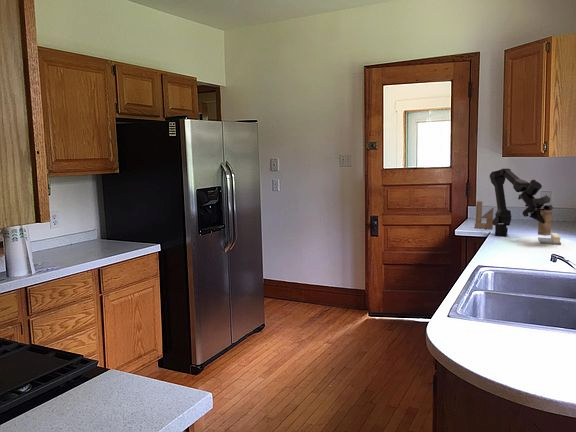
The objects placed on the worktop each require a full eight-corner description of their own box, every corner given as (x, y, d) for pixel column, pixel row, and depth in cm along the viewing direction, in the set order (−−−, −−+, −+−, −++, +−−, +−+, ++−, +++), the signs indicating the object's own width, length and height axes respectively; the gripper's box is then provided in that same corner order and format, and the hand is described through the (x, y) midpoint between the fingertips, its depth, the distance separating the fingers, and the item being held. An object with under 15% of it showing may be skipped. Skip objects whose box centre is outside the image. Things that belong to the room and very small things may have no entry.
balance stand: (540, 243, 274) (540, 236, 274) (538, 239, 289) (538, 232, 289) (561, 244, 271) (561, 237, 270) (557, 240, 285) (557, 233, 285)
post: (537, 234, 270) (539, 210, 268) (543, 233, 272) (544, 210, 270) (545, 235, 266) (546, 211, 264) (550, 234, 268) (552, 210, 266)
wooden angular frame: (491, 229, 324) (492, 202, 322) (474, 228, 330) (475, 201, 328) (492, 229, 327) (494, 201, 325) (475, 227, 333) (476, 200, 331)
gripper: (528, 191, 265) (546, 214, 257) (551, 190, 273) (569, 212, 265) (515, 204, 273) (531, 227, 264) (537, 203, 281) (554, 225, 273)
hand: (547, 222), depth 267 cm, fingers closed on post, 4 cm apart
